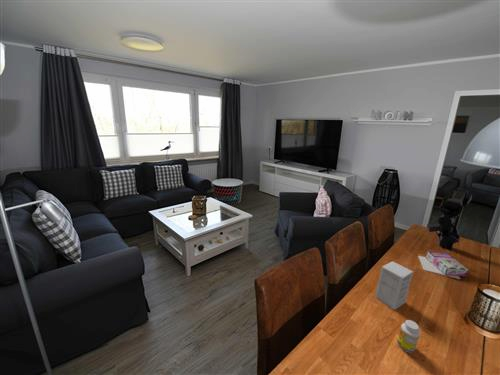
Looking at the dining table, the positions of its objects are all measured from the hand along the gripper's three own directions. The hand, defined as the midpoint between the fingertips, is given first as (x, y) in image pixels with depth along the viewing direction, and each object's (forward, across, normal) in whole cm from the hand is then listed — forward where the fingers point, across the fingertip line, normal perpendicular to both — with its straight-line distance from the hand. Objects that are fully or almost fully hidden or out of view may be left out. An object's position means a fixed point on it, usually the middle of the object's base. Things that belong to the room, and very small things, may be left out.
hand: (440, 246), depth 134 cm
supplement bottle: (+11, +73, -25) cm, 78 cm away
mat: (+11, +5, 0) cm, 12 cm away
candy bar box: (+8, -4, +1) cm, 9 cm away
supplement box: (+11, +49, -28) cm, 58 cm away
